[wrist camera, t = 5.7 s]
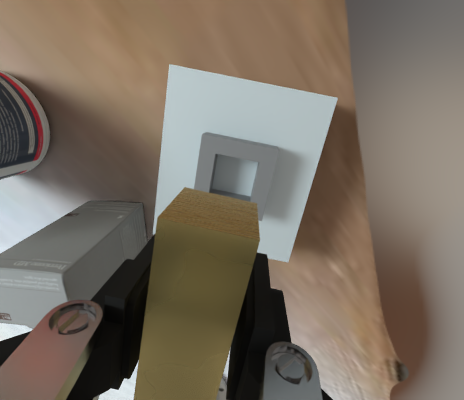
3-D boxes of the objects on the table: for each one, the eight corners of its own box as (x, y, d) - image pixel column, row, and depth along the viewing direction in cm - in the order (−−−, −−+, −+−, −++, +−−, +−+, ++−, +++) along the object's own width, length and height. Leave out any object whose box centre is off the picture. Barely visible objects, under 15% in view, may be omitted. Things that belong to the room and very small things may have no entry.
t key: (262, 171, 12) (278, 244, 6) (228, 304, 15) (209, 471, 8) (201, 157, 12) (138, 213, 5) (177, 293, 15) (113, 450, 8)
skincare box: (144, 201, 36) (66, 266, 21) (149, 248, 38) (82, 336, 23) (85, 199, 36) (-33, 261, 21) (93, 245, 39) (-8, 330, 24)
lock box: (282, 238, 36) (291, 275, 28) (168, 215, 36) (144, 244, 28) (321, 100, 30) (347, 96, 22) (185, 73, 30) (160, 59, 22)
